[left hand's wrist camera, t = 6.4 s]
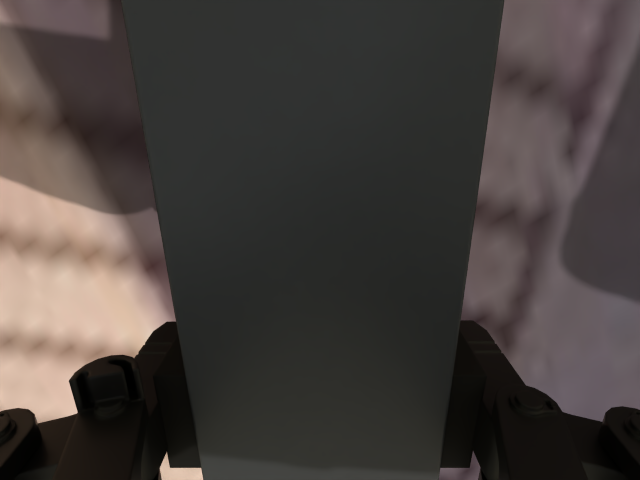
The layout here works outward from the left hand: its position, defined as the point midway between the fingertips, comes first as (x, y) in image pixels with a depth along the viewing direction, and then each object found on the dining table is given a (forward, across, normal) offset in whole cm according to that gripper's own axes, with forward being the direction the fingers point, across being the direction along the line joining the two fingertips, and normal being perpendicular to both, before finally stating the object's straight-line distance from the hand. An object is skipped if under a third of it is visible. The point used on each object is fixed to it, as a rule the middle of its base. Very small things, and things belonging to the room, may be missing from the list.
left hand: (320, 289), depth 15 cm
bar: (+1, 0, -19) cm, 19 cm away
